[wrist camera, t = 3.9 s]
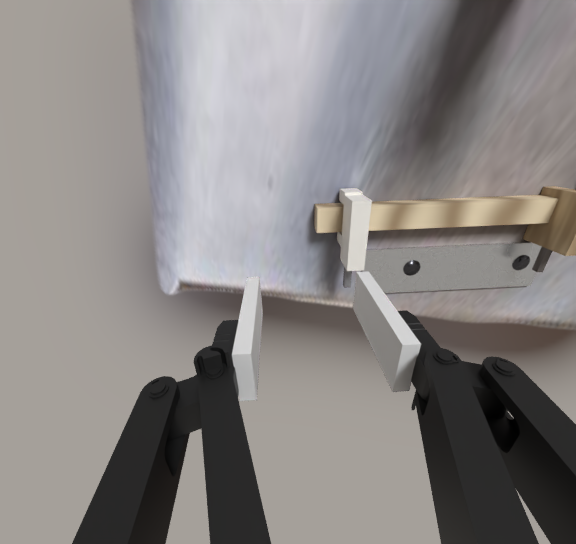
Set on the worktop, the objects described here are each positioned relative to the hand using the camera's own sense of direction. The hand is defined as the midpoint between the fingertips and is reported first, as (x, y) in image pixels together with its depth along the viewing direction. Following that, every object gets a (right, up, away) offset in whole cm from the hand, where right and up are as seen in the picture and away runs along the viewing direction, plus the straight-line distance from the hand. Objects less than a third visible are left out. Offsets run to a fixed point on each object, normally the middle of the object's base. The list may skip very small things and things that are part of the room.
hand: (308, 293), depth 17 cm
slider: (+6, +6, +18) cm, 20 cm away
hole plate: (+22, +2, +21) cm, 31 cm away
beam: (+18, +7, +19) cm, 27 cm away
